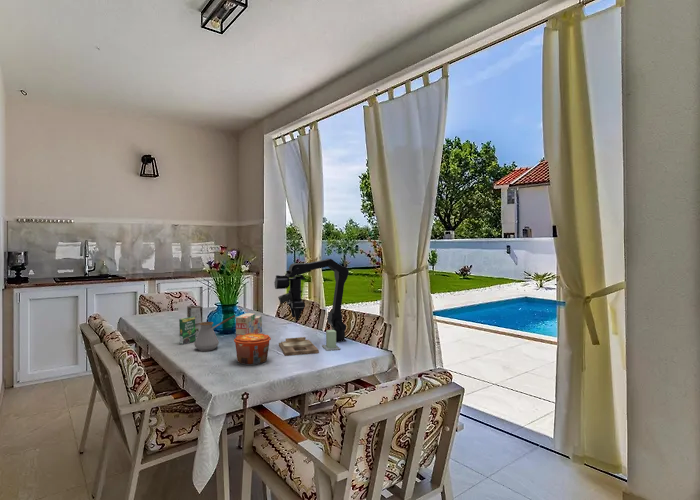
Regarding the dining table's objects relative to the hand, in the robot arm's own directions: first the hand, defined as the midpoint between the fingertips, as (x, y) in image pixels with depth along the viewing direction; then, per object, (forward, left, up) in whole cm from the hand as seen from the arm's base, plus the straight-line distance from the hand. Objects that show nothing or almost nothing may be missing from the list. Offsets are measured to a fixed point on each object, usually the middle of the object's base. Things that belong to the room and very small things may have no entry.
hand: (295, 318), depth 218 cm
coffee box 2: (+52, -21, -14) cm, 58 cm away
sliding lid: (0, +5, -12) cm, 13 cm away
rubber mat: (-16, +12, -13) cm, 24 cm away
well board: (0, +9, -13) cm, 16 cm away
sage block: (-16, +12, -13) cm, 23 cm away
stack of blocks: (+20, -29, -14) cm, 38 cm away
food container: (+23, +22, -14) cm, 35 cm away
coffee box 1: (+49, -38, -14) cm, 64 cm away
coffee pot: (+38, -7, -14) cm, 41 cm away
